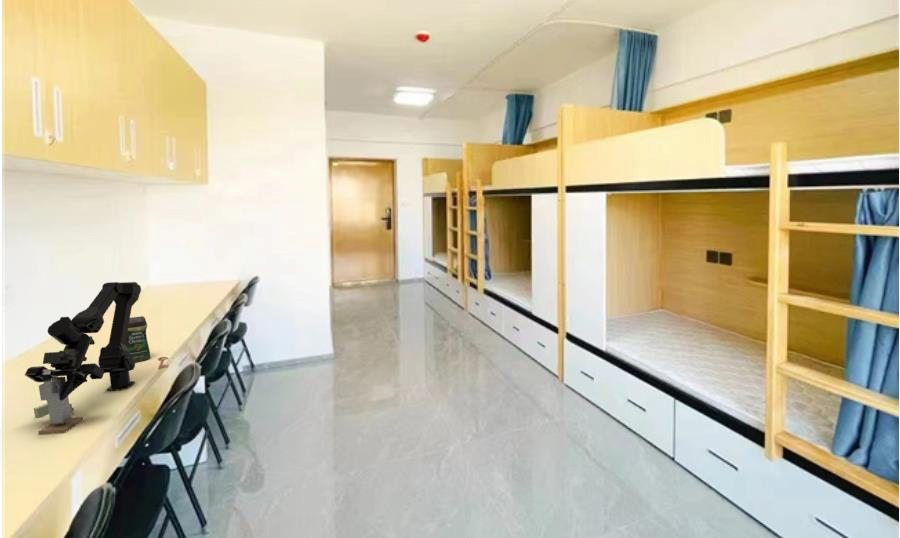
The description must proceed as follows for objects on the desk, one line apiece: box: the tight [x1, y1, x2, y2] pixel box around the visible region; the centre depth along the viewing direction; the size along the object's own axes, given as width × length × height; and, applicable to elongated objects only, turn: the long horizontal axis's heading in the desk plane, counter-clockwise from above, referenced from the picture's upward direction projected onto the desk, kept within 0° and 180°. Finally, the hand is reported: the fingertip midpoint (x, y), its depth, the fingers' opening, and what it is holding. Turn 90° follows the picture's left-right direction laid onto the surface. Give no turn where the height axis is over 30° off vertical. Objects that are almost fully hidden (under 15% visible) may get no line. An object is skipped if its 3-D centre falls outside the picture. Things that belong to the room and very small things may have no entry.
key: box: [157, 356, 170, 370], centre depth 189 cm, size 6×1×15 cm
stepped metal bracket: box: [38, 376, 72, 424], centre depth 133 cm, size 6×3×13 cm, turn 7°
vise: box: [33, 402, 75, 419], centre depth 144 cm, size 6×9×3 cm
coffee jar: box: [125, 315, 151, 363], centre depth 192 cm, size 10×8×19 cm
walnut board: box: [37, 416, 85, 435], centre depth 135 cm, size 8×7×1 cm
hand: (54, 400), depth 133 cm, fingers closed on stepped metal bracket, 3 cm apart
